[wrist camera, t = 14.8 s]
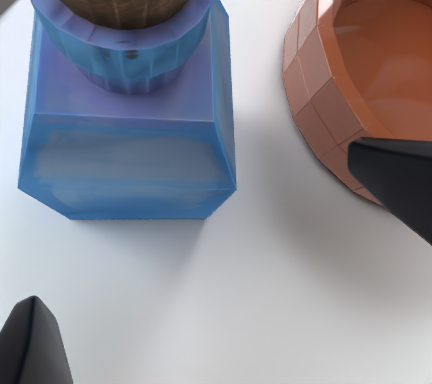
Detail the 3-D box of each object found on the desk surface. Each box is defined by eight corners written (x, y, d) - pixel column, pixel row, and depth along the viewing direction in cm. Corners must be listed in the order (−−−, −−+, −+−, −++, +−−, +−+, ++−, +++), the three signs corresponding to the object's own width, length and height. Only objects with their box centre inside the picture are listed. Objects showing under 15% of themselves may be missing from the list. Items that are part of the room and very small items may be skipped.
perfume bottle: (77, 93, 17) (-92, -301, 5) (203, 100, 18) (295, -211, 6) (70, 219, 15) (-183, 68, 4) (206, 218, 16) (330, 100, 5)
